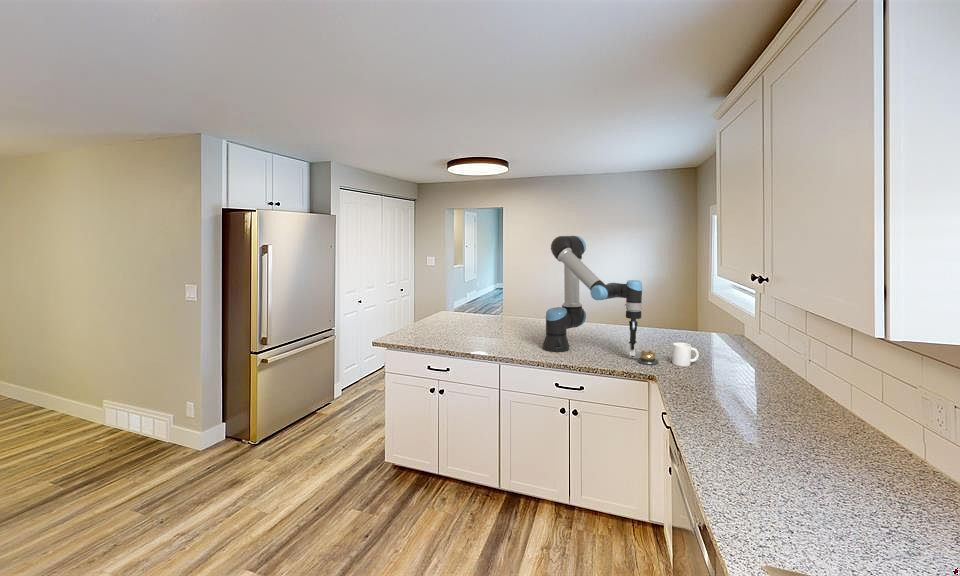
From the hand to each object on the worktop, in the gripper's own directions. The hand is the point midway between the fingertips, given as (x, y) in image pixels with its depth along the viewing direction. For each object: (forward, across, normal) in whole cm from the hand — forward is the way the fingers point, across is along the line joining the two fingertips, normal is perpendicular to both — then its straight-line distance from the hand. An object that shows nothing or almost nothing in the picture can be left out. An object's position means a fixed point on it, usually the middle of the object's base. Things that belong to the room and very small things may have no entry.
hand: (632, 355), depth 217 cm
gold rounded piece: (+1, 0, +5) cm, 5 cm away
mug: (+3, +1, +25) cm, 25 cm away
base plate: (+3, +2, +7) cm, 8 cm away
